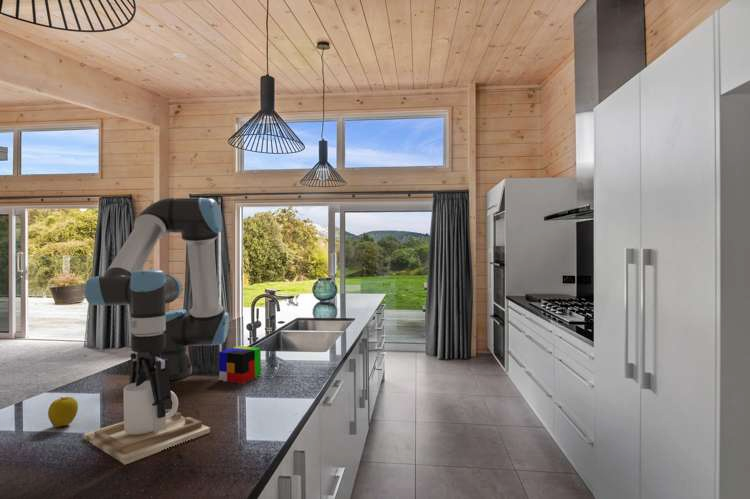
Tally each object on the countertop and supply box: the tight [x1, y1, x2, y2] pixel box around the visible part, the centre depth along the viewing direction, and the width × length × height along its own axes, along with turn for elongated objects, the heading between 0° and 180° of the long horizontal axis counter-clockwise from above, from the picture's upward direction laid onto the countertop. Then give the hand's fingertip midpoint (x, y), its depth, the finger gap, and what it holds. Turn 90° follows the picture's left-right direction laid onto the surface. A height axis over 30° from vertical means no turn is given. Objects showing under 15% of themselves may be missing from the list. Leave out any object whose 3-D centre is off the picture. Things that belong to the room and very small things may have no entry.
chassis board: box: [83, 408, 211, 465], centre depth 108 cm, size 22×20×2 cm
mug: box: [123, 380, 179, 434], centre depth 107 cm, size 12×8×10 cm
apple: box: [47, 396, 79, 428], centre depth 114 cm, size 6×6×8 cm
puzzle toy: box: [218, 345, 262, 384], centre depth 155 cm, size 10×10×10 cm
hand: (149, 425), depth 107 cm, fingers closed on mug, 9 cm apart
